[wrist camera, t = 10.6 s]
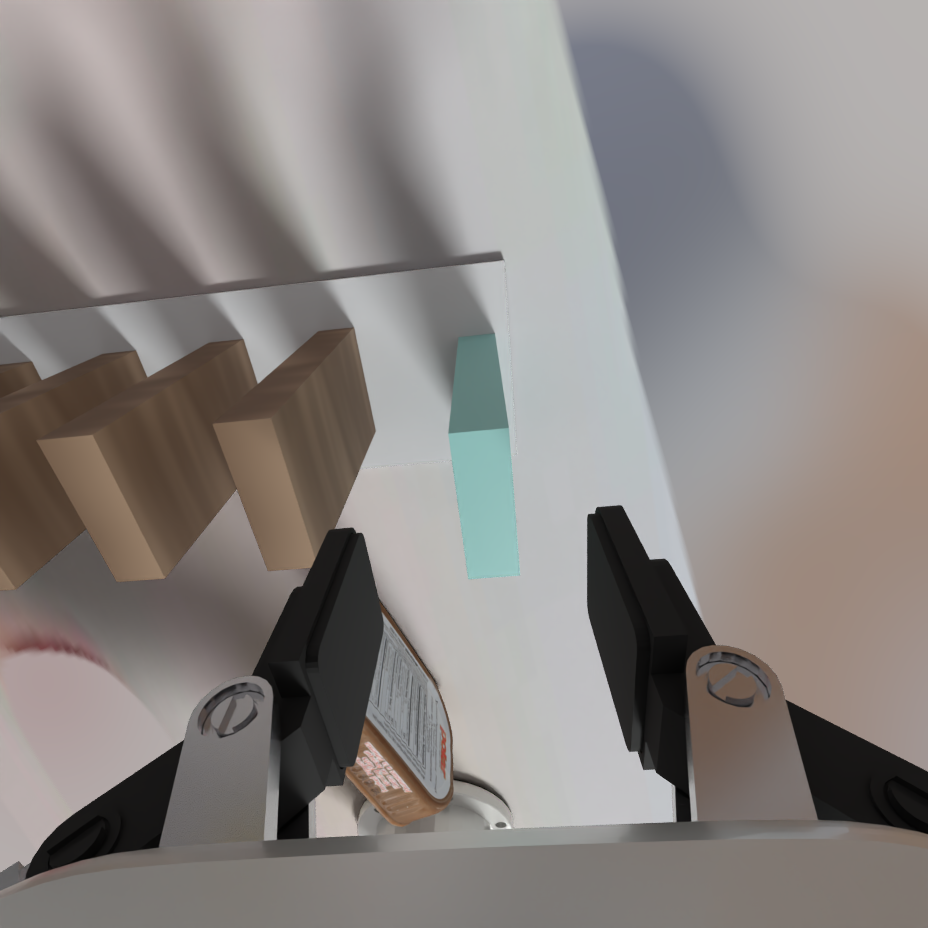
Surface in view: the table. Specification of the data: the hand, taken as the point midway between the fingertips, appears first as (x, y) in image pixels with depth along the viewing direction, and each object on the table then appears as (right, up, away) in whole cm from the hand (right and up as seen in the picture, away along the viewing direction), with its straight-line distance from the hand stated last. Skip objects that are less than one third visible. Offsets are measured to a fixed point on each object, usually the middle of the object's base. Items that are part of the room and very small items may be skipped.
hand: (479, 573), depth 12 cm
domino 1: (-16, +5, +12) cm, 20 cm away
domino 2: (-11, +6, +12) cm, 17 cm away
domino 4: (0, +6, +11) cm, 13 cm away
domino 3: (-6, +6, +11) cm, 14 cm away
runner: (-13, +6, +12) cm, 19 cm away
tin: (-5, -9, +20) cm, 22 cm away
